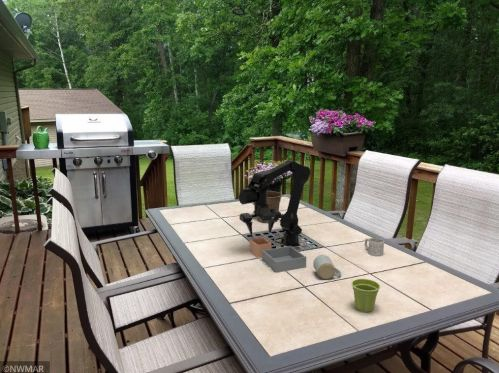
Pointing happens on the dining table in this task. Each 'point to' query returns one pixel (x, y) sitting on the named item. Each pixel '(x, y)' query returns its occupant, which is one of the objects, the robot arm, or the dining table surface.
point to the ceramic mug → (325, 267)
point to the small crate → (259, 246)
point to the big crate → (283, 259)
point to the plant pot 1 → (272, 202)
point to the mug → (375, 246)
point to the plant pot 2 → (365, 294)
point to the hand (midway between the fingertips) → (260, 233)
